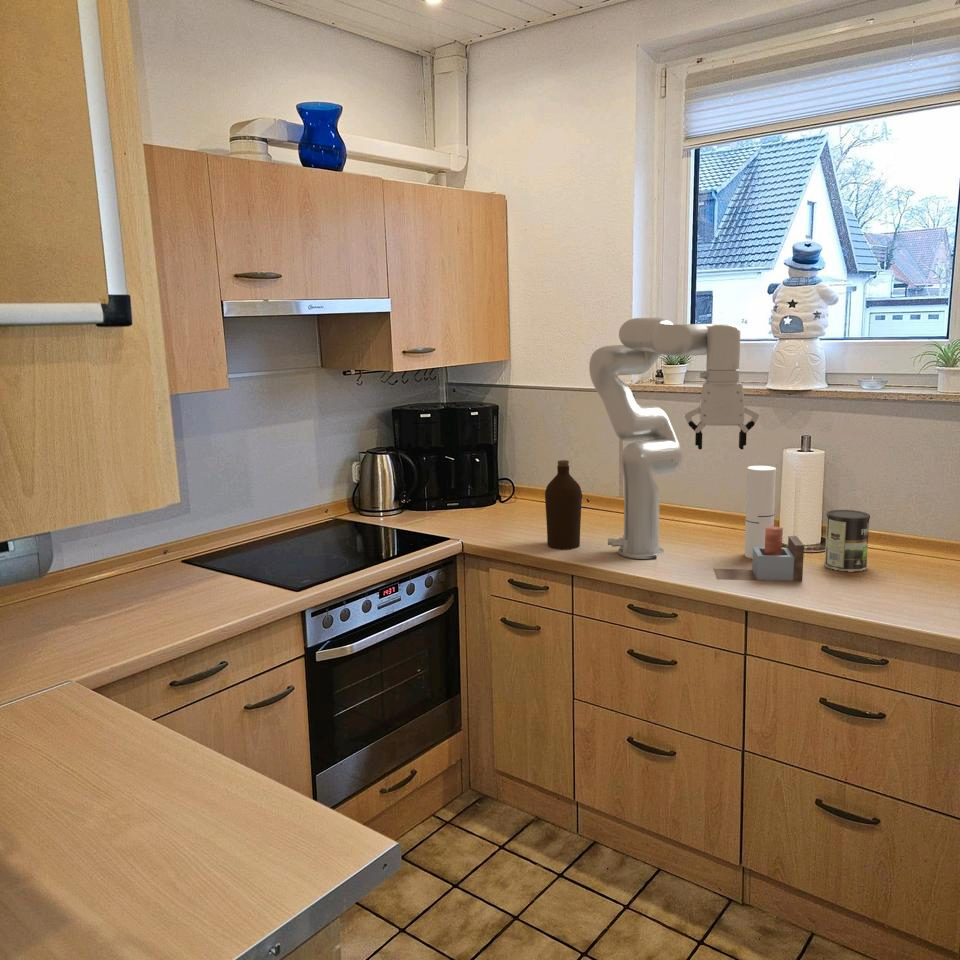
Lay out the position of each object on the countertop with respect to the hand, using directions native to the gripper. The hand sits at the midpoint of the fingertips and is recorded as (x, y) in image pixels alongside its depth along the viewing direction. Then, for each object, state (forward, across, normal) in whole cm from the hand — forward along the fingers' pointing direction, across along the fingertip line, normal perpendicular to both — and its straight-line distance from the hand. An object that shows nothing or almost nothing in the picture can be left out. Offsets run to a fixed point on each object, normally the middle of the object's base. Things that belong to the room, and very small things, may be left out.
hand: (720, 448), depth 205 cm
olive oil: (+34, -40, +31) cm, 61 cm away
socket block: (+32, +14, +3) cm, 35 cm away
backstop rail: (+33, +10, +3) cm, 35 cm away
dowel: (+32, +14, +3) cm, 35 cm away
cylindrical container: (+34, +13, +21) cm, 42 cm away
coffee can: (+34, +34, +16) cm, 50 cm away
